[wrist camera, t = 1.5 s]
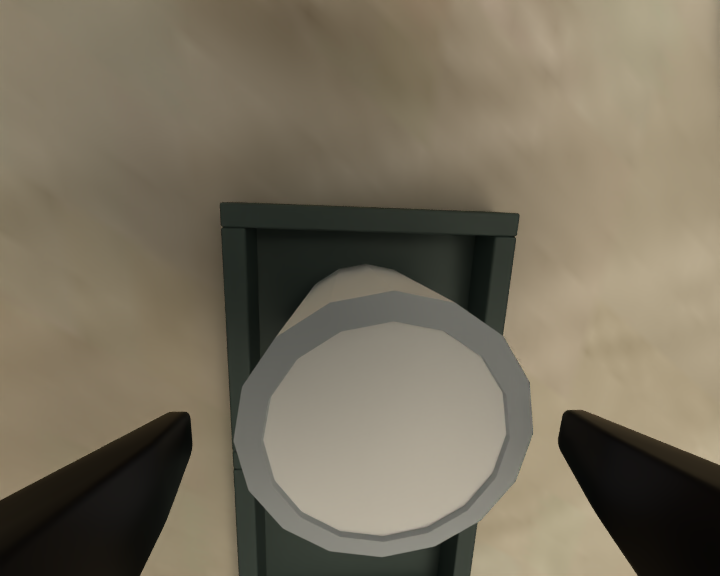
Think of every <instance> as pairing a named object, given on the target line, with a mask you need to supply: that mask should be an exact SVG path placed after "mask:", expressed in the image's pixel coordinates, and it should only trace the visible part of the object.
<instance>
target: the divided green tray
mask: <svg viewBox="0 0 720 576" xmlns="http://www.w3.org/2000/svg"><path fill="white" fill-rule="evenodd" d="M220 218H221V226H222V227H223V228H222V229H221V236H222V256H223V275H224V294H225V314H226V333H227V352H228V372H229V391H230V410H231V430H232V449H233V466H234V488H235V508H236V527H237V546H238V566H239V576H470V573H471V565H472V558H473V551H474V543H475V536H476V529H477V523H475V524H473V525H472V526H470V527H468V528H466V529H465V530H463V531H461V532H459V533H458V534H456V535H454V536H452V537H450V538H449V539H447V540H445V541H443V542H442V543H440V544H438V545H436V546H434V547H429V548H425V549H420V550H415V551H410V552H405V553H400V554H395V555H390V556H386V557H376V556H368V555H359V554H350V553H341V552H332V551H328V550H326V549H324V548H322V547H320V546H318V545H316V544H314V543H312V542H310V541H308V540H306V539H304V538H301V537H299V536H297V535H295V534H293V533H291V532H289V531H287V530H285V529H283V528H282V527H281V526H280V525H279V524H278V522H277V521H276V520H275V519H274V518H273V517H272V516H271V515H270V514H269V512H268V511H267V510H266V509H265V508H264V507H263V506H262V505H261V504H260V502H259V501H258V500H257V499H256V498H255V497H254V496H253V495H252V494H251V492H250V491H249V490H248V487H247V483H246V480H245V477H244V474H243V470H242V467H241V464H240V461H239V457H238V454H237V451H236V448H235V444H234V441H233V440H234V434H235V428H236V421H237V415H238V409H239V403H240V397H241V390H242V386H243V385H244V383H245V382H246V380H247V379H248V377H249V376H250V374H251V373H252V371H253V370H254V368H255V367H256V365H257V364H258V363H259V361H260V360H261V358H262V357H263V355H264V354H265V352H266V351H267V349H268V348H269V346H270V345H271V343H272V342H273V340H274V339H275V338H276V336H277V335H278V333H279V332H280V331H281V329H282V328H283V327H284V325H285V324H286V323H287V321H288V320H289V319H290V317H291V316H292V315H293V313H294V312H295V311H296V309H297V308H298V307H299V305H300V304H301V303H302V301H303V300H304V299H305V297H306V296H307V295H308V293H309V292H310V291H311V289H312V288H313V287H314V285H315V284H316V283H318V282H319V281H321V280H322V279H324V278H325V277H327V276H329V275H330V274H332V273H333V272H335V271H336V270H338V269H341V268H346V267H352V266H357V265H362V264H369V265H374V266H379V267H384V268H388V269H393V270H395V271H397V272H399V273H400V274H402V275H404V276H406V277H408V278H410V279H412V280H414V281H415V282H417V283H419V284H421V285H423V286H425V287H427V288H429V289H430V290H432V291H434V292H436V293H438V294H440V295H442V296H444V297H445V298H447V299H449V300H451V301H453V302H455V303H456V304H458V305H459V306H461V307H462V308H464V309H465V310H467V311H468V312H469V313H471V314H472V315H474V316H475V317H477V318H478V319H479V320H481V321H482V322H484V323H485V324H487V325H488V326H489V327H491V328H492V329H494V330H495V331H497V332H498V333H500V334H501V335H502V336H503V331H504V323H505V316H506V309H507V301H508V294H509V287H510V280H511V272H512V265H513V258H514V251H515V243H516V238H515V236H517V230H518V223H519V214H518V213H503V212H483V211H457V210H430V209H404V208H377V207H350V206H324V205H297V204H271V203H244V202H222V203H220Z"/></svg>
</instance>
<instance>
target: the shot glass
mask: <svg viewBox="0 0 720 576" xmlns="http://www.w3.org/2000/svg"><path fill="white" fill-rule="evenodd" d="M532 435H533V424H532V409H531V395H530V382H529V380H528V379H527V377H526V375H525V373H524V372H523V370H522V368H521V366H520V365H519V363H518V361H517V359H516V358H515V356H514V354H513V352H512V351H511V349H510V347H509V345H508V344H507V342H506V340H505V338H504V337H503V336H502V335H501V334H500V333H498V332H497V331H495V330H494V329H492V328H491V327H489V326H488V325H487V324H485V323H484V322H482V321H481V320H479V319H478V318H477V317H475V316H474V315H472V314H471V313H469V312H468V311H467V310H465V309H464V308H462V307H461V306H459V305H458V304H456V303H455V302H453V301H451V300H449V299H447V298H445V297H444V296H442V295H440V294H438V293H436V292H434V291H432V290H430V289H429V288H427V287H425V286H423V285H421V284H419V283H417V282H415V281H414V280H412V279H410V278H408V277H406V276H404V275H402V274H400V273H399V272H397V271H395V270H393V269H388V268H384V267H379V266H374V265H369V264H362V265H357V266H352V267H346V268H341V269H338V270H336V271H335V272H333V273H332V274H330V275H329V276H327V277H325V278H324V279H322V280H321V281H319V282H318V283H316V284H315V285H314V287H313V288H312V289H311V291H310V292H309V293H308V295H307V296H306V297H305V299H304V300H303V301H302V303H301V304H300V305H299V307H298V308H297V309H296V311H295V312H294V313H293V315H292V316H291V317H290V319H289V320H288V321H287V323H286V324H285V325H284V327H283V328H282V329H281V331H280V332H279V333H278V335H277V336H276V338H275V339H274V340H273V342H272V343H271V345H270V346H269V348H268V349H267V351H266V352H265V354H264V355H263V357H262V358H261V360H260V361H259V363H258V364H257V365H256V367H255V368H254V370H253V371H252V373H251V374H250V376H249V377H248V379H247V380H246V382H245V383H244V385H243V386H242V390H241V397H240V403H239V409H238V415H237V421H236V428H235V434H234V440H233V441H234V444H235V448H236V451H237V454H238V457H239V461H240V464H241V467H242V470H243V474H244V477H245V480H246V483H247V487H248V490H249V491H250V492H251V494H252V495H253V496H254V497H255V498H256V499H257V500H258V501H259V502H260V504H261V505H262V506H263V507H264V508H265V509H266V510H267V511H268V512H269V514H270V515H271V516H272V517H273V518H274V519H275V520H276V521H277V522H278V524H279V525H280V526H281V527H282V528H283V529H285V530H287V531H289V532H291V533H293V534H295V535H297V536H299V537H301V538H304V539H306V540H308V541H310V542H312V543H314V544H316V545H318V546H320V547H322V548H324V549H326V550H328V551H332V552H341V553H350V554H359V555H368V556H376V557H386V556H390V555H395V554H400V553H405V552H410V551H415V550H420V549H425V548H429V547H434V546H436V545H438V544H440V543H442V542H443V541H445V540H447V539H449V538H450V537H452V536H454V535H456V534H458V533H459V532H461V531H463V530H465V529H466V528H468V527H470V526H472V525H473V524H475V523H477V522H479V521H481V520H482V519H483V517H484V516H485V515H486V514H487V513H488V512H489V511H490V510H491V508H492V507H493V506H494V505H495V504H496V503H497V502H498V500H499V499H500V498H501V497H502V496H503V495H504V494H505V493H506V491H507V490H508V489H509V488H510V487H511V486H512V485H513V484H514V482H515V481H516V479H517V476H518V473H519V470H520V468H521V465H522V462H523V460H524V457H525V454H526V451H527V449H528V446H529V443H530V441H531V438H532Z"/></svg>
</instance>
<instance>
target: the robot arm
mask: <svg viewBox="0 0 720 576" xmlns="http://www.w3.org/2000/svg"><path fill="white" fill-rule="evenodd" d="M558 444H559V448H560V451H561V452H562V454H563V456H564V458H565V460H566V461H567V463H568V465H569V467H570V469H571V470H572V472H573V474H574V476H575V478H576V479H577V481H578V483H579V485H580V487H581V488H582V490H583V492H584V494H585V496H586V497H587V499H588V501H589V503H590V504H591V506H592V508H593V509H594V511H595V513H596V514H597V516H598V517H599V519H600V520H601V522H602V523H603V525H604V526H605V528H606V529H607V531H608V532H609V534H610V535H611V537H612V538H613V540H614V541H615V543H616V544H617V546H618V547H619V549H620V550H621V552H622V553H623V555H624V556H625V557H626V559H627V560H628V562H629V563H630V565H631V566H632V568H633V569H634V571H635V572H636V574H637V575H638V576H720V465H718V464H716V463H713V462H711V461H708V460H706V459H703V458H701V457H698V456H696V455H693V454H691V453H688V452H686V451H683V450H681V449H678V448H676V447H673V446H671V445H668V444H666V443H663V442H661V441H658V440H656V439H653V438H651V437H648V436H646V435H643V434H641V433H638V432H636V431H634V430H631V429H629V428H626V427H624V426H621V425H619V424H616V423H614V422H611V421H609V420H606V419H604V418H601V417H599V416H596V415H594V414H591V413H589V412H586V411H583V410H567V411H565V412H564V414H563V416H562V421H561V426H560V432H559V437H558ZM191 451H192V432H191V419H190V415H189V414H188V413H187V412H169V413H166V414H165V415H163V416H161V417H159V418H157V419H155V420H153V421H151V422H149V423H147V424H145V425H144V426H142V427H140V428H138V429H136V430H134V431H132V432H130V433H128V434H126V435H124V436H122V437H121V438H119V439H117V440H115V441H113V442H111V443H109V444H107V445H105V446H103V447H101V448H100V449H98V450H96V451H94V452H92V453H90V454H88V455H86V456H84V457H82V458H80V459H79V460H77V461H75V462H73V463H71V464H69V465H67V466H65V467H63V468H61V469H59V470H57V471H56V472H54V473H52V474H50V475H48V476H46V477H44V478H42V479H40V480H38V481H36V482H35V483H33V484H31V485H29V486H27V487H25V488H23V489H21V490H19V491H17V492H15V493H14V494H12V495H10V496H8V497H6V498H4V499H2V500H0V576H140V574H141V572H142V570H143V568H144V566H145V564H146V562H147V560H148V558H149V556H150V554H151V552H152V550H153V548H154V545H155V543H156V541H157V539H158V537H159V535H160V533H161V531H162V529H163V527H164V524H165V522H166V520H167V517H168V515H169V512H170V510H171V507H172V504H173V502H174V499H175V496H176V493H177V491H178V488H179V485H180V483H181V480H182V477H183V474H184V472H185V469H186V466H187V463H188V461H189V458H190V455H191Z"/></svg>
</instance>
